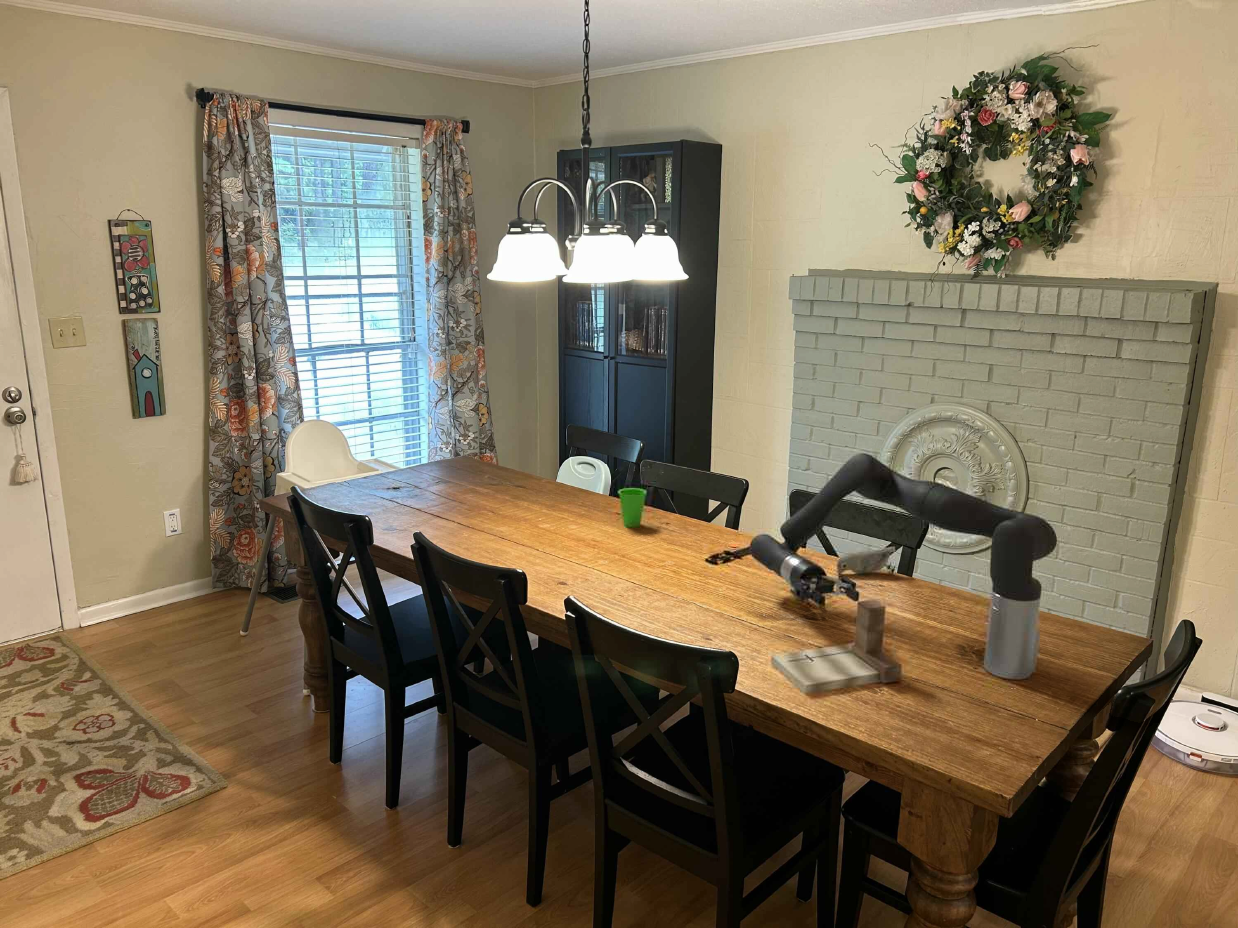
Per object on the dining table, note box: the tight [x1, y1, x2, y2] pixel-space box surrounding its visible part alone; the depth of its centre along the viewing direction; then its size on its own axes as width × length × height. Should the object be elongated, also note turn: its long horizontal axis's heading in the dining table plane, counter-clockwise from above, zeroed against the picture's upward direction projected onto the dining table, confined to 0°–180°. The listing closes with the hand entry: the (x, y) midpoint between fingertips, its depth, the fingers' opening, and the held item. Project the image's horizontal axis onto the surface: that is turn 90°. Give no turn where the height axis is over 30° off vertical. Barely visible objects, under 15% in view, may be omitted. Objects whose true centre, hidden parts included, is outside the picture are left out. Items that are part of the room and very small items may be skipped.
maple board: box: [770, 642, 882, 695], centre depth 190 cm, size 22×14×2 cm, turn 109°
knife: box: [704, 545, 751, 566], centre depth 262 cm, size 25×6×1 cm, turn 127°
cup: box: [617, 487, 648, 528], centre depth 287 cm, size 9×9×11 cm
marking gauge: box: [851, 598, 903, 684], centre depth 189 cm, size 4×12×13 cm, turn 19°
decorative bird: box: [836, 546, 897, 576], centre depth 247 cm, size 5×16×8 cm, turn 97°
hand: (840, 599), depth 200 cm, fingers open, 8 cm apart
